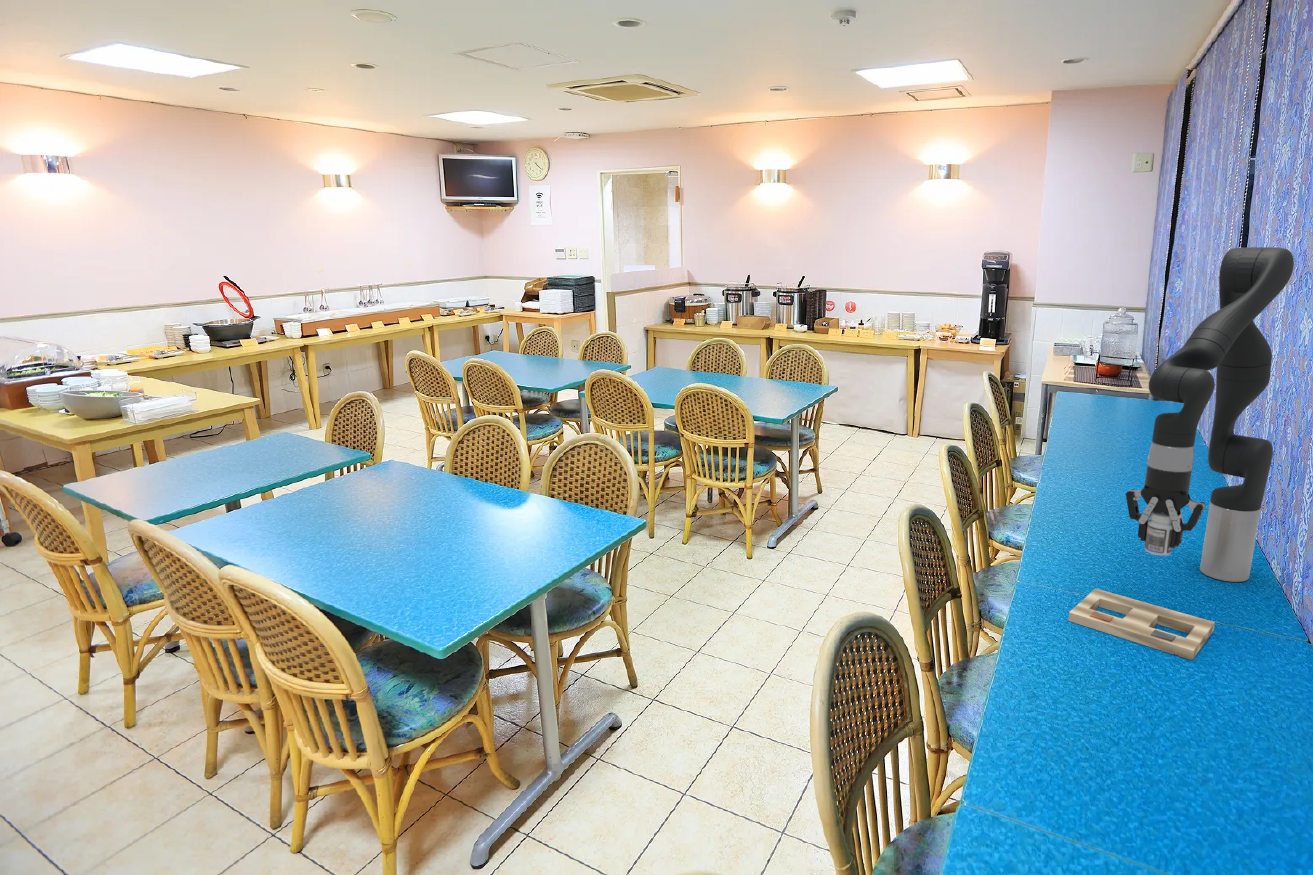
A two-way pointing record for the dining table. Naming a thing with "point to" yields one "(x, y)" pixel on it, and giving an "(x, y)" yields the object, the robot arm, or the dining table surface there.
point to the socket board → (1143, 623)
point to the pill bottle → (1159, 534)
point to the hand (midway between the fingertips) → (1158, 543)
